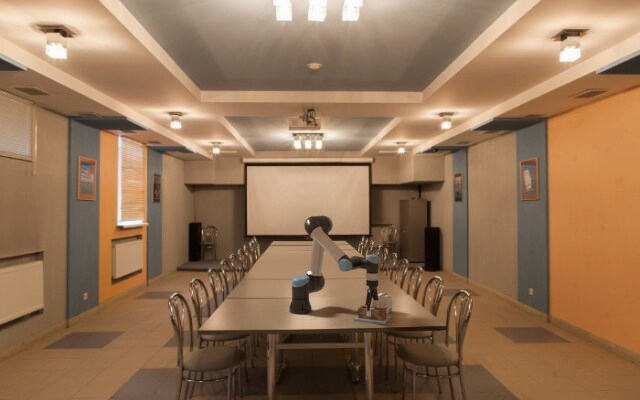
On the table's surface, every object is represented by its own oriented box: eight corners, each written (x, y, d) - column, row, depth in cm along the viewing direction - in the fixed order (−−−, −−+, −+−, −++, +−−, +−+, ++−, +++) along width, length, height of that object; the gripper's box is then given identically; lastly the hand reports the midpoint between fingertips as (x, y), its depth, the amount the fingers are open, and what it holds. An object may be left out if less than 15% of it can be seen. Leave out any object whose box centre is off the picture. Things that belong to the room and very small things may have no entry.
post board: (353, 320, 264) (353, 309, 264) (360, 315, 277) (360, 304, 277) (385, 324, 256) (385, 312, 256) (390, 318, 269) (390, 307, 269)
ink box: (381, 309, 290) (381, 290, 290) (392, 312, 285) (392, 292, 285) (374, 312, 283) (374, 292, 283) (385, 314, 278) (385, 294, 278)
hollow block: (386, 317, 267) (386, 308, 267) (383, 320, 260) (383, 311, 260) (361, 314, 273) (362, 305, 273) (358, 318, 266) (358, 308, 266)
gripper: (372, 283, 253) (372, 319, 254) (383, 276, 276) (382, 309, 277) (360, 282, 256) (360, 317, 257) (372, 275, 279) (371, 307, 280)
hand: (371, 313), depth 267 cm, fingers open, 13 cm apart
